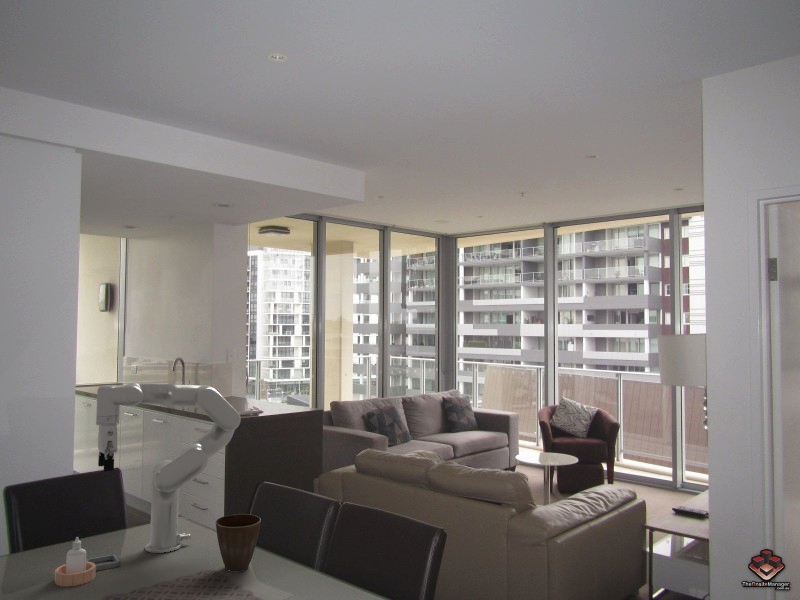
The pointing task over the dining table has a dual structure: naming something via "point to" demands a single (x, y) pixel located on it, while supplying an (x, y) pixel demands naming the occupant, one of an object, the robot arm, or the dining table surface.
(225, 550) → the plant pot
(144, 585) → the dining table surface
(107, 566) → the open rectangular frame
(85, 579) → the bowl
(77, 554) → the eye dropper bottle
